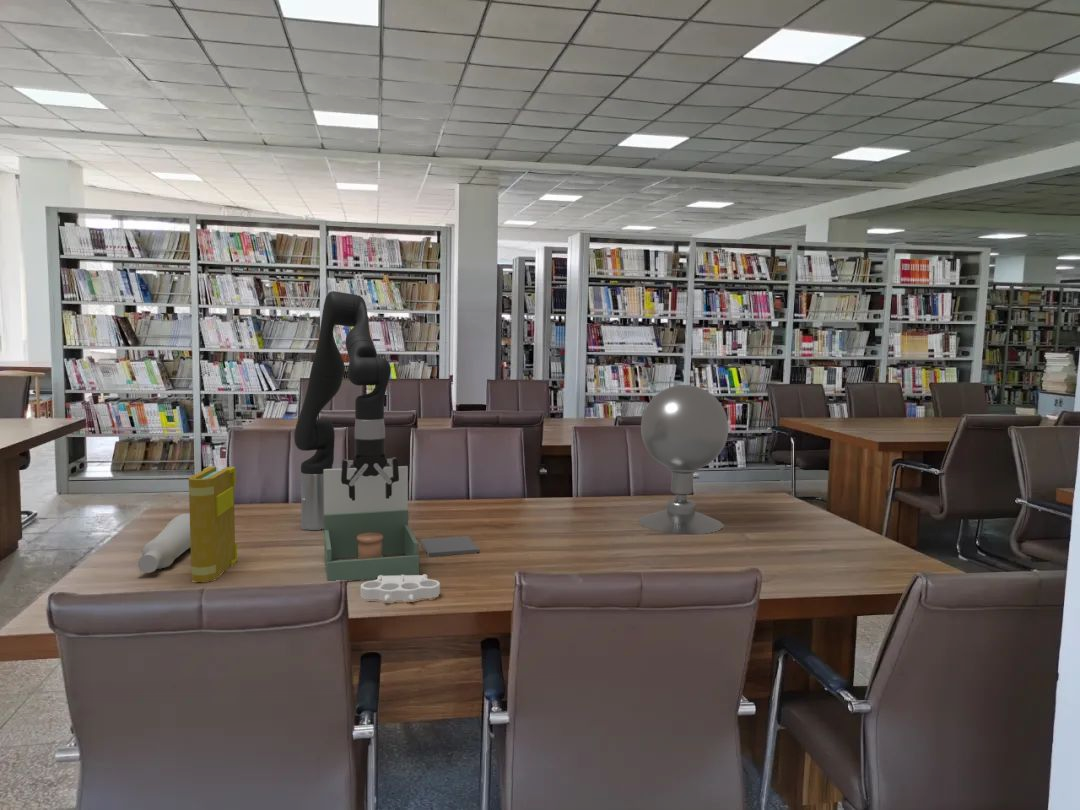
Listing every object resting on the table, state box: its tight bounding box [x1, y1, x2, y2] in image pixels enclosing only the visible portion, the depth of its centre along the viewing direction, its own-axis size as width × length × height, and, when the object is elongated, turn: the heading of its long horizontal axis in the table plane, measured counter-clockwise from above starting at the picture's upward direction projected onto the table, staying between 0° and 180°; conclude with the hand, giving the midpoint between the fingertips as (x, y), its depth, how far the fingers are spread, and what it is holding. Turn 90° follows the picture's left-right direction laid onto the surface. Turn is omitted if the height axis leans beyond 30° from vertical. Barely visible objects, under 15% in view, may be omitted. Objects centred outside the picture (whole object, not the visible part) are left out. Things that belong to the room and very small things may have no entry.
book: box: [188, 466, 238, 583], centre depth 186 cm, size 17×7×25 cm, turn 5°
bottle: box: [137, 513, 191, 574], centre depth 196 cm, size 9×9×30 cm
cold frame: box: [323, 465, 420, 582], centre depth 192 cm, size 22×21×24 cm
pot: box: [357, 533, 383, 559], centre depth 193 cm, size 7×7×8 cm
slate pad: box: [420, 535, 480, 557], centre depth 211 cm, size 14×14×1 cm
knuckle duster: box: [359, 573, 441, 601], centre depth 174 cm, size 3×18×15 cm
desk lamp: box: [637, 384, 729, 535], centre depth 242 cm, size 28×28×45 cm
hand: (370, 499), depth 191 cm, fingers open, 8 cm apart
